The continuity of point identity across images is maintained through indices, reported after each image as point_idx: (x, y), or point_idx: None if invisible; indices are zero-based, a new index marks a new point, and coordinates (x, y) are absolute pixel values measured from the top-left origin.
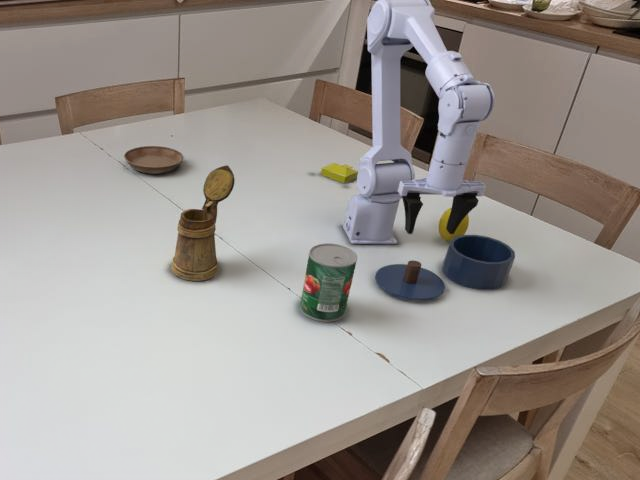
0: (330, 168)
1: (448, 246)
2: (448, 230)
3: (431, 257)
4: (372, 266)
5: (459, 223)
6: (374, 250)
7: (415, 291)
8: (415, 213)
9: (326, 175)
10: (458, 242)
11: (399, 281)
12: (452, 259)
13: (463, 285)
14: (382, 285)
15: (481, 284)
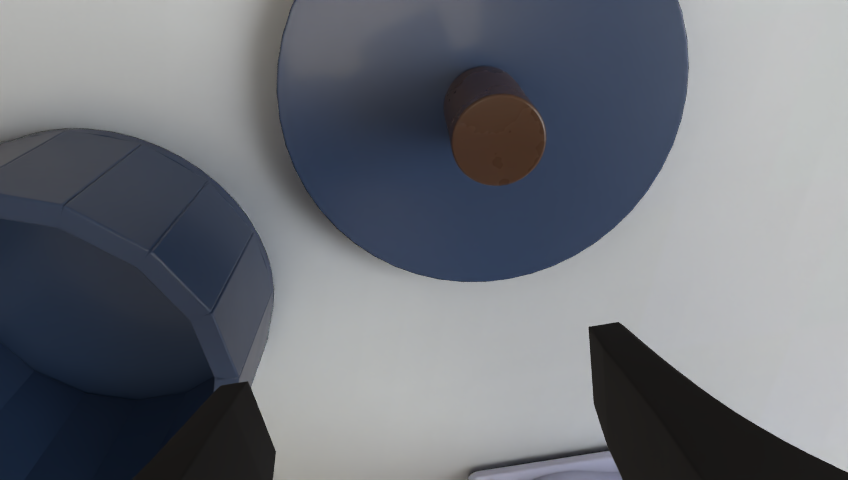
0: None
1: None
2: (259, 423)
3: (317, 395)
4: (633, 266)
5: (156, 458)
6: (584, 408)
7: None
8: (735, 462)
9: None
10: None
11: (549, 82)
12: (225, 281)
13: (166, 151)
14: (670, 10)
15: (57, 136)
